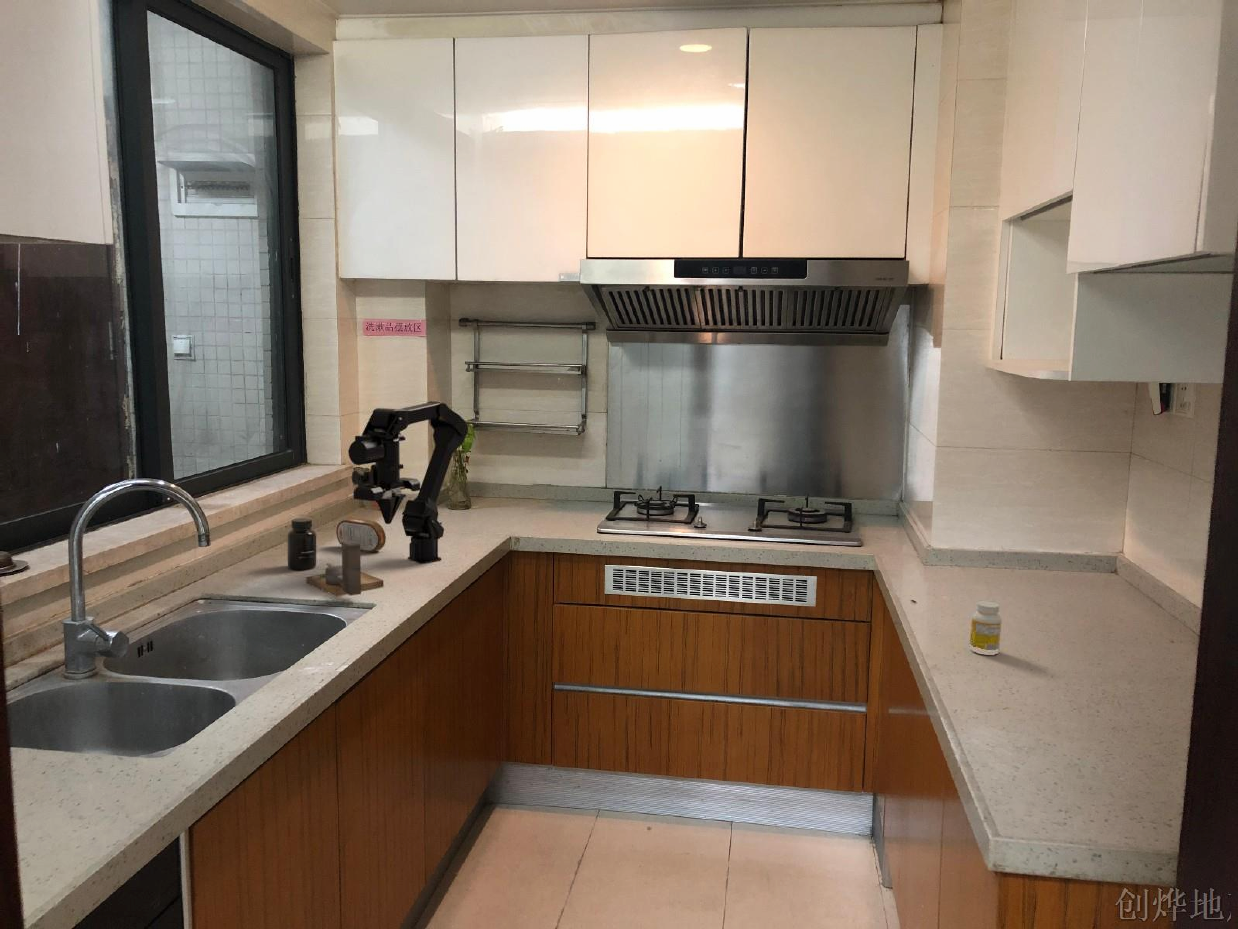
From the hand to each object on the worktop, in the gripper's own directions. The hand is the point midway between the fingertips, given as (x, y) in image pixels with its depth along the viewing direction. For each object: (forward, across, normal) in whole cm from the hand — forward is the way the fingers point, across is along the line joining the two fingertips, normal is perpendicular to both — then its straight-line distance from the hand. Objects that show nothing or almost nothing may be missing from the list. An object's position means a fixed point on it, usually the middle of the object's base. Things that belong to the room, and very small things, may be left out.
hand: (388, 523), depth 228 cm
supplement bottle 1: (+12, +7, -21) cm, 25 cm away
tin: (+12, -14, -20) cm, 28 cm away
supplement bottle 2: (+12, -9, +137) cm, 138 cm away
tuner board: (+12, +14, -1) cm, 19 cm away
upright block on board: (+10, +19, +2) cm, 22 cm away
